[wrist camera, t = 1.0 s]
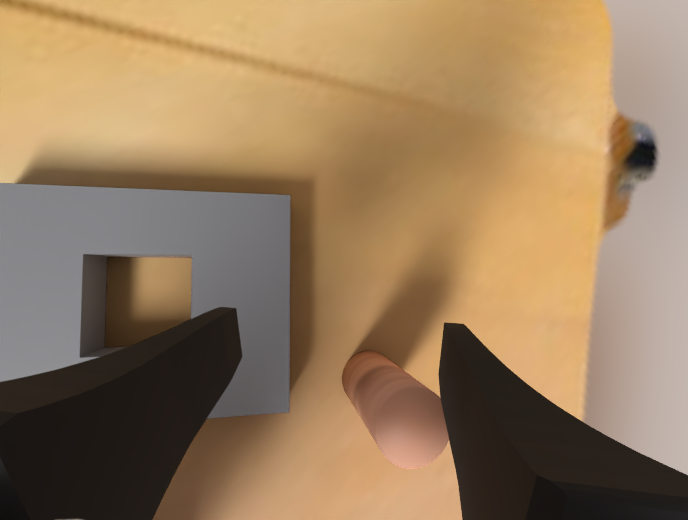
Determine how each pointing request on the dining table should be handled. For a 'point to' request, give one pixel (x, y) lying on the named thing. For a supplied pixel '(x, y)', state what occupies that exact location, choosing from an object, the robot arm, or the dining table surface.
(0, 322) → the grey flat holed block
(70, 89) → the dining table surface
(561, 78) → the dining table surface
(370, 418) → the terracotta peg
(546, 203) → the dining table surface
